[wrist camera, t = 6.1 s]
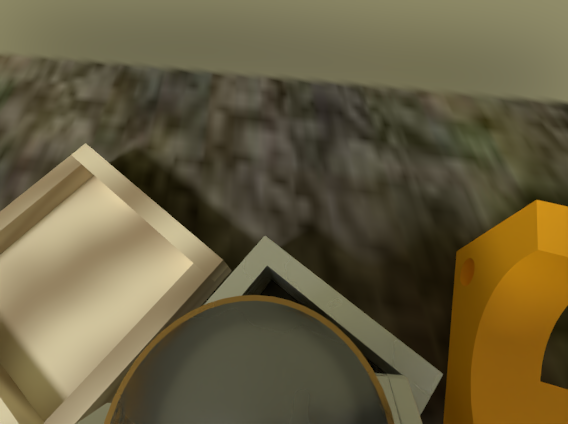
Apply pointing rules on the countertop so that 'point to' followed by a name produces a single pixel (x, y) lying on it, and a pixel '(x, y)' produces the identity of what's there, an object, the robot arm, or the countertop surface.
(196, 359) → the dome-topped grey cylinder
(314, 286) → the socket
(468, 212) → the countertop surface
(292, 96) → the countertop surface
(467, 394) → the pipe clamp
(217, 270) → the tray
